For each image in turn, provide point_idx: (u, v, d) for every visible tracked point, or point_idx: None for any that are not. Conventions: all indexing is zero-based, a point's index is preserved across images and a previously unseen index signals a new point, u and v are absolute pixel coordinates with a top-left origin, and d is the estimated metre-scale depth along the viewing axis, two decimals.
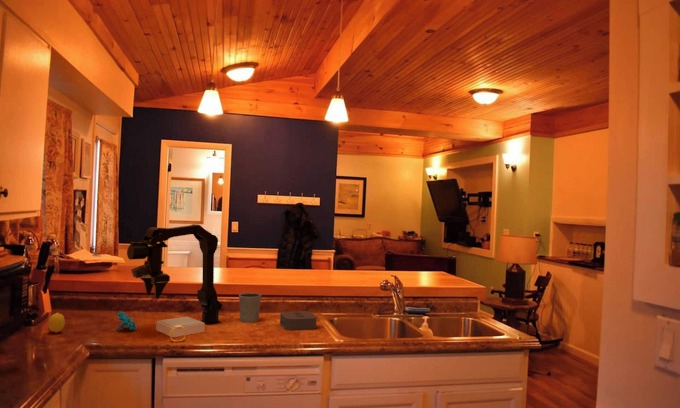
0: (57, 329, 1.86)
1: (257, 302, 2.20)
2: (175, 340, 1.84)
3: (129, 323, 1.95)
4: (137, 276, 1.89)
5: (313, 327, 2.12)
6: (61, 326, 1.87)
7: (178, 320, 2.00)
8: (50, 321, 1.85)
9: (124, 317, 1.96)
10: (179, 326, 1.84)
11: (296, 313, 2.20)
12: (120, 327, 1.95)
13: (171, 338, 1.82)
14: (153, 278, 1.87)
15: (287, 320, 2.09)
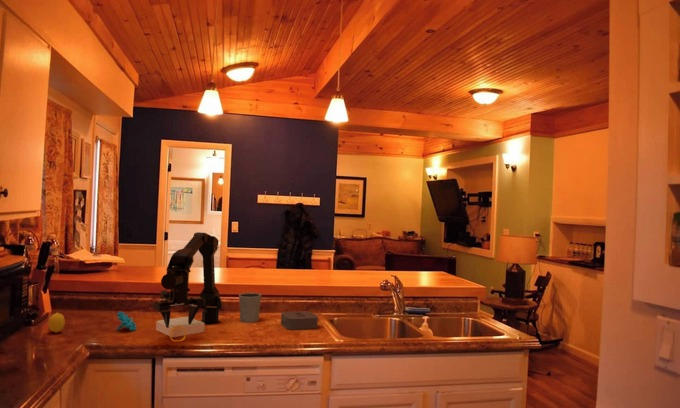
0: (57, 329, 1.86)
1: (257, 302, 2.20)
2: (175, 340, 1.84)
3: (129, 323, 1.95)
4: (165, 300, 1.88)
5: (314, 327, 2.13)
6: (61, 326, 1.87)
7: (178, 320, 2.00)
8: (50, 321, 1.85)
9: (124, 317, 1.96)
10: (179, 326, 1.84)
11: (297, 313, 2.20)
12: (120, 327, 1.95)
13: (171, 338, 1.82)
14: None
15: (288, 320, 2.09)
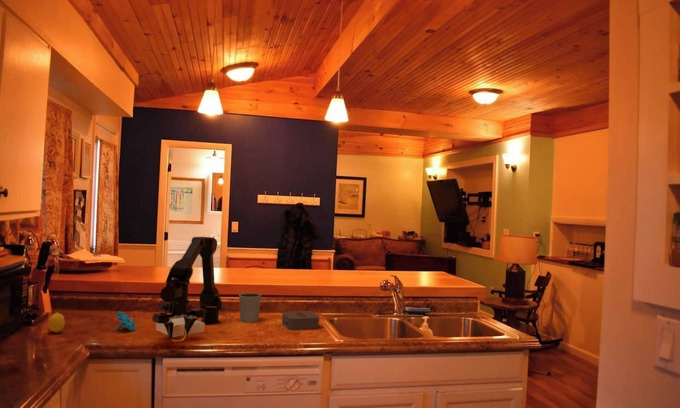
0: (57, 329, 1.86)
1: (257, 302, 2.20)
2: (175, 340, 1.84)
3: (128, 323, 1.95)
4: None
5: (316, 326, 2.13)
6: (61, 326, 1.87)
7: (178, 320, 2.00)
8: (50, 321, 1.85)
9: (123, 317, 1.96)
10: (179, 326, 1.84)
11: (298, 313, 2.21)
12: (119, 327, 1.95)
13: None
14: None
15: (290, 320, 2.10)
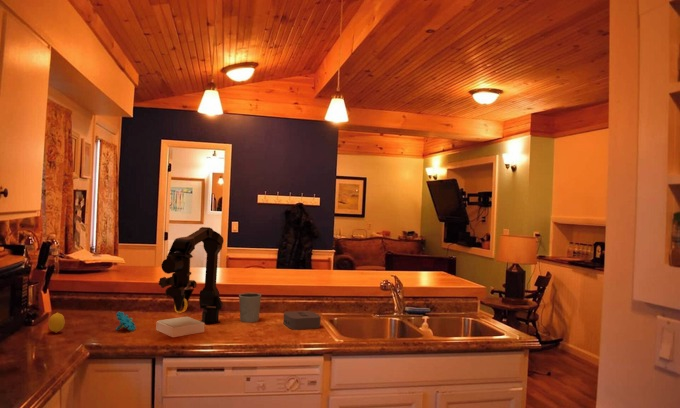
0: (57, 329, 1.86)
1: (257, 302, 2.20)
2: (179, 311, 1.90)
3: (128, 323, 1.95)
4: (161, 286, 1.89)
5: (317, 326, 2.14)
6: (61, 326, 1.87)
7: (178, 320, 2.00)
8: (50, 321, 1.85)
9: (123, 317, 1.96)
10: None
11: (299, 313, 2.21)
12: (119, 327, 1.95)
13: None
14: None
15: (292, 320, 2.10)
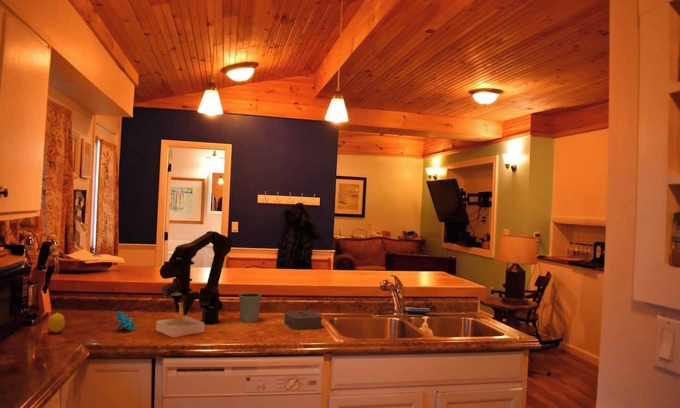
0: (57, 329, 1.86)
1: (257, 302, 2.20)
2: None
3: (127, 323, 1.95)
4: (168, 294, 1.92)
5: (318, 326, 2.14)
6: (61, 326, 1.87)
7: (178, 320, 2.00)
8: (50, 321, 1.85)
9: (123, 317, 1.96)
10: None
11: (300, 312, 2.22)
12: (119, 327, 1.96)
13: (183, 314, 1.97)
14: (184, 296, 1.92)
15: (293, 319, 2.10)
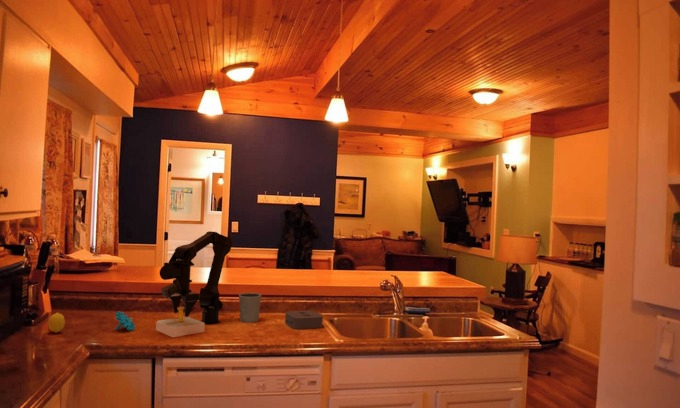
0: (57, 329, 1.86)
1: (257, 302, 2.20)
2: None
3: (127, 323, 1.95)
4: (168, 295, 1.92)
5: (320, 326, 2.15)
6: (61, 326, 1.87)
7: (178, 320, 2.00)
8: (50, 321, 1.85)
9: (122, 317, 1.96)
10: (182, 307, 1.99)
11: (301, 312, 2.22)
12: (118, 327, 1.96)
13: None
14: (184, 297, 1.91)
15: (295, 319, 2.11)
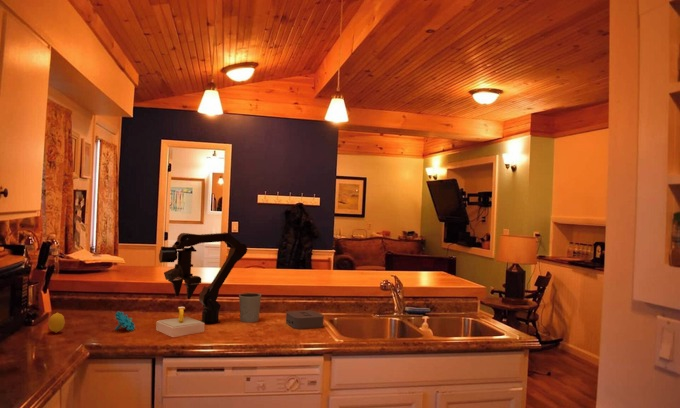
0: (57, 329, 1.86)
1: (257, 302, 2.20)
2: None
3: (126, 323, 1.95)
4: (171, 279, 2.02)
5: (321, 325, 2.16)
6: (61, 326, 1.87)
7: (178, 320, 2.00)
8: (50, 321, 1.85)
9: (122, 317, 1.96)
10: (183, 307, 2.00)
11: (302, 312, 2.23)
12: (118, 327, 1.96)
13: None
14: (187, 280, 2.02)
15: (296, 319, 2.11)
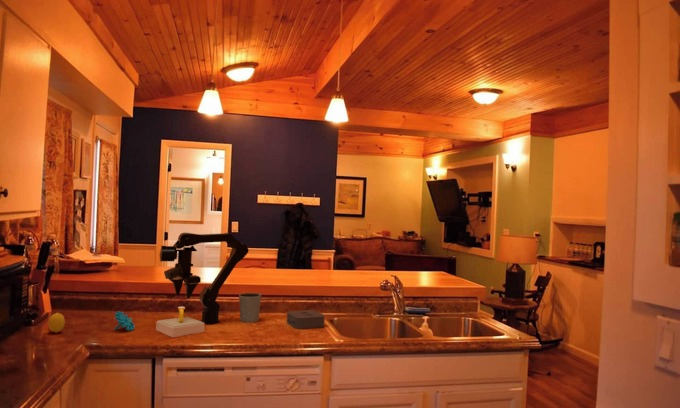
0: (57, 329, 1.86)
1: (257, 302, 2.20)
2: None
3: (126, 323, 1.95)
4: (170, 278, 2.04)
5: (322, 325, 2.16)
6: (61, 326, 1.87)
7: (178, 320, 2.00)
8: (50, 321, 1.85)
9: (122, 317, 1.96)
10: (183, 307, 2.00)
11: (302, 312, 2.23)
12: (118, 327, 1.96)
13: None
14: (186, 279, 2.03)
15: (297, 319, 2.12)
